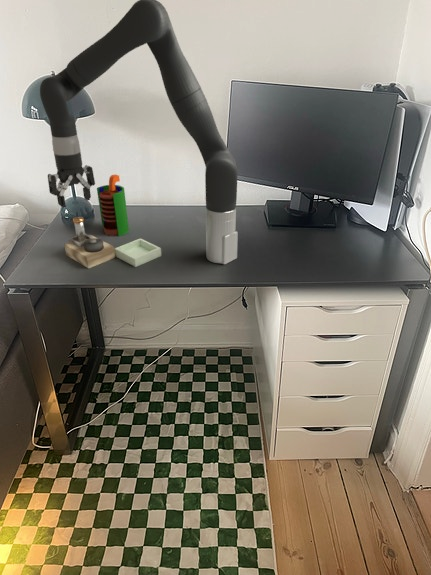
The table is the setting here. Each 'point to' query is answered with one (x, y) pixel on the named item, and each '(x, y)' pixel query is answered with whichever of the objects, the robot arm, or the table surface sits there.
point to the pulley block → (89, 251)
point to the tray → (137, 252)
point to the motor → (113, 208)
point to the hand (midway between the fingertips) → (75, 203)
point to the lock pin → (79, 228)
